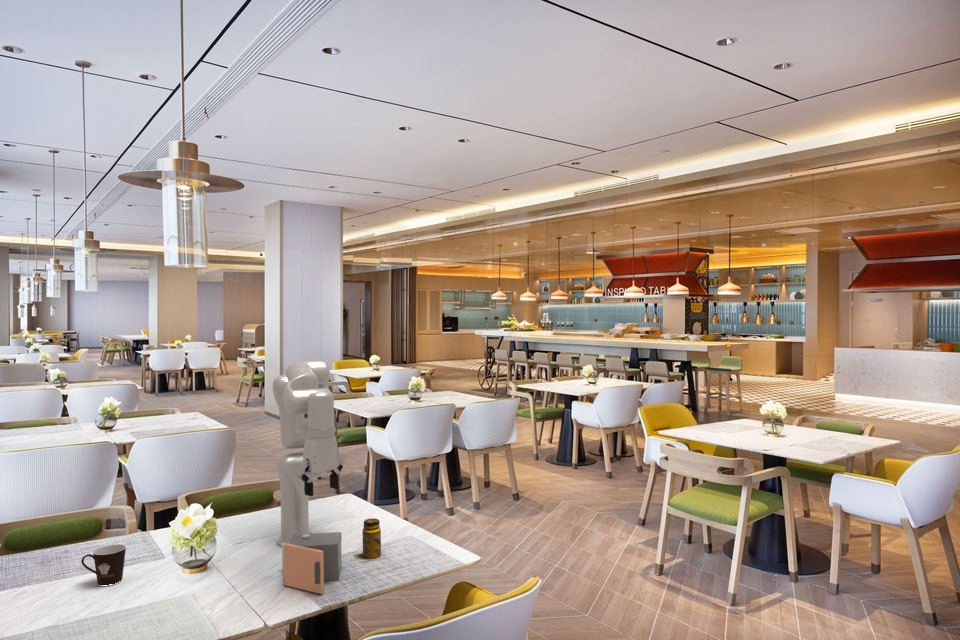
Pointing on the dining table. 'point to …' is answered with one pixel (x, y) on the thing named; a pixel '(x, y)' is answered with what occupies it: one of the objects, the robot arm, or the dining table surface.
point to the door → (303, 568)
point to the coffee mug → (108, 563)
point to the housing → (324, 550)
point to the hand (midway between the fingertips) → (321, 491)
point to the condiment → (371, 541)
